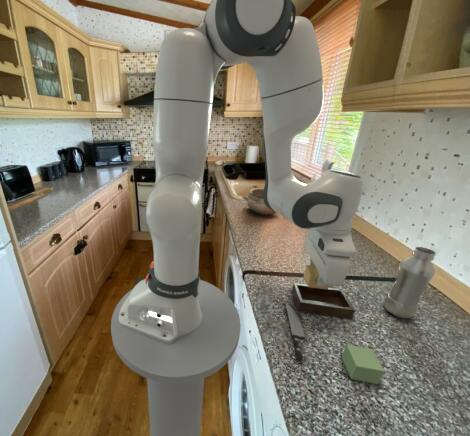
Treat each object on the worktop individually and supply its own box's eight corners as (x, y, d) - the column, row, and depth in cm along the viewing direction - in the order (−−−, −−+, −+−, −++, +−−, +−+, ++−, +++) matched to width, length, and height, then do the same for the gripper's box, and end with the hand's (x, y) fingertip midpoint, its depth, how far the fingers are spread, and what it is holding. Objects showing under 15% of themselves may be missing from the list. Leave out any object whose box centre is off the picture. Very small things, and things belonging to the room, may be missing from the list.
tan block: (307, 287, 66) (310, 275, 65) (303, 276, 71) (306, 264, 69) (327, 289, 66) (331, 277, 64) (321, 278, 70) (325, 266, 68)
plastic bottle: (415, 325, 63) (449, 260, 56) (383, 315, 66) (411, 252, 59) (409, 309, 69) (439, 248, 61) (379, 301, 72) (404, 241, 64)
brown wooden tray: (298, 310, 68) (300, 302, 67) (291, 290, 76) (293, 282, 74) (352, 318, 65) (355, 310, 64) (339, 297, 73) (342, 289, 72)
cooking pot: (283, 209, 142) (287, 189, 137) (289, 221, 125) (294, 199, 120) (240, 205, 147) (242, 185, 142) (240, 217, 130) (242, 195, 125)
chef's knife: (295, 304, 70) (284, 302, 71) (296, 301, 70) (285, 299, 70) (311, 365, 53) (297, 361, 54) (313, 361, 52) (298, 357, 53)
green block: (350, 379, 50) (356, 366, 49) (341, 357, 55) (346, 344, 53) (378, 384, 49) (384, 371, 48) (366, 362, 54) (371, 349, 52)
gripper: (304, 217, 72) (295, 256, 78) (328, 251, 54) (314, 300, 59) (327, 218, 71) (317, 259, 76) (359, 255, 52) (342, 304, 58)
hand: (316, 277), depth 68 cm, fingers closed on tan block, 5 cm apart
